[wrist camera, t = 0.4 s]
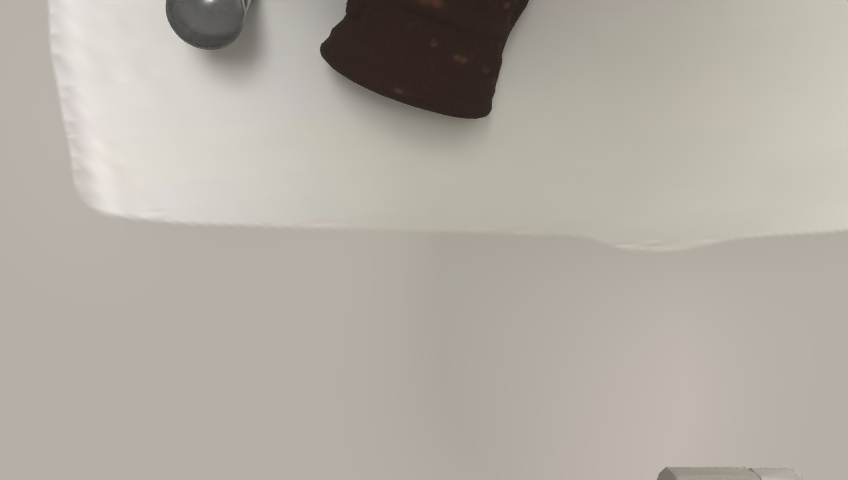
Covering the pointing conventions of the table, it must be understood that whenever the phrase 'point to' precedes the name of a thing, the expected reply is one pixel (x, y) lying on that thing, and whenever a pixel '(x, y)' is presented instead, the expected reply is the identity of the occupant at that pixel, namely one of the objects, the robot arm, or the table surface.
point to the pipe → (425, 50)
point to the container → (207, 21)
